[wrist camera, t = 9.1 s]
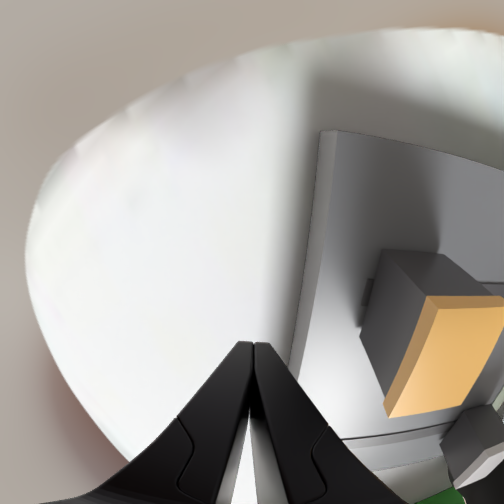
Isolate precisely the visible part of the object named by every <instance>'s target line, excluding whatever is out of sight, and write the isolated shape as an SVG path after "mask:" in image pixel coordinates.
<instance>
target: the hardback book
mask: <svg viewBox="0 0 504 504" xmlns="http://www.w3.org/2000/svg"><path fill="white" fill-rule="evenodd" d="M415 504H465V502H464V499H463V496H462V495H461V494H460V493H459V492H458V491H457V490H455V488H454V487H451V488H449V489H447V490H445V491H443V492H440V493H438V494H436V495H434V496H431V497H429V498H427V499H424V500H422V501H420V502H417V503H415Z"/></svg>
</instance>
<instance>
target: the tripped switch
mask: <svg viewBox="0 0 504 504" xmlns="http://www.w3.org/2000/svg"><path fill="white" fill-rule="evenodd" d="M503 327H504V298H502V297H501V296H494V295H493V294H492V293H491V292H490V291H488V290H487V289H486V288H485V287H484V286H483V285H481V284H480V283H479V282H478V281H477V280H476V279H474V278H473V277H472V276H471V275H469V274H468V273H467V272H466V271H465V270H463V269H462V268H461V267H460V266H458V265H457V264H456V263H455V262H453V261H452V260H451V259H450V258H448V257H447V256H446V255H444V254H440V253H428V252H417V251H405V250H393V249H381V254H380V258H379V263H378V267H377V272H376V276H375V280H374V284H373V288H372V292H371V296H370V300H369V303H368V307H367V311H366V314H365V318H364V321H363V325H362V328H361V332H360V335H359V338H360V340H361V342H362V345H363V347H364V349H365V351H366V354H367V356H368V358H369V361H370V363H371V366H372V368H373V370H374V373H375V375H376V378H377V380H378V382H379V385H380V387H381V390H382V392H383V395H384V397H385V399H384V401H383V406H384V409H385V411H386V414H387V417H388V418H394V417H401V416H408V415H414V414H420V413H426V412H431V411H436V410H441V409H446V408H450V407H455V406H459V405H461V404H462V402H463V401H464V399H465V398H466V396H467V394H468V393H469V391H470V390H471V388H472V386H473V385H474V383H475V381H476V380H477V378H478V376H479V374H480V373H481V371H482V369H483V367H484V365H485V364H486V362H487V360H488V358H489V356H490V354H491V352H492V350H493V348H494V346H495V344H496V342H497V340H498V338H499V336H500V334H501V332H502V330H503Z"/></svg>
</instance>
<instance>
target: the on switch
mask: <svg viewBox="0 0 504 504" xmlns="http://www.w3.org/2000/svg"><path fill="white" fill-rule="evenodd" d="M439 446H440V448H441V450H442V452H443V455H444V457H445V459H446V462H447V464H448V467H449V469H450V471H451V474H452V476H453V479H454V482H453V484H454V487H455V490H456V489H458V488H461V487H463V486H466V485H468V484H471V483H473V482H475V481H477V480H480V479H482V478H484V477H486V476H487V475H488V474H489V473H490V472H491V471H492V470H493V469H494V468H495V467H496V466H497V465H498V464H499V463H500V462H501V461H502V460H503V459H504V424H503V422H502V420H501V419H500V417H499V415H498V414H497V412H496V411H495V409H494V407H493V406H492V404H487V405H484V406H481V407H477V408H474V409H470V410H466V411H464V412H463V413H462V415H461V416H460V417H459V419H458V420H457V422H456V423H455V424H454V426H453V427H452V428H451V430H450V431H449V432H448V434H447V435H446V436H445V438H444V439H443V440H442V441H441V443H440V444H439Z"/></svg>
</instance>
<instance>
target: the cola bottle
mask: <svg viewBox="0 0 504 504" xmlns="http://www.w3.org/2000/svg"><path fill="white" fill-rule="evenodd" d="M448 474H449V478H450V481H451V484H452V485H453V487H454V484H453V482H454V479H453V476H452V474H451V471H450V469H449V467H448ZM454 488H455V487H454ZM456 490H457V491H458V492H459V493H460V494H461V495H462V496H463V497H464V498H465V500H466V503H467V504H504V459H503V460H502V461H501V462H500V463H499V464H498V465H497V466H496V467H495V468H494V469H493V470H492V471H491V472H490V473H489V474H488V475H487V476H486V477H484V478H482V479H480V480H477V481H475V482H473V483H471V484H468V485H466V486H463V487H461V488H458V489H456Z"/></svg>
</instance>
